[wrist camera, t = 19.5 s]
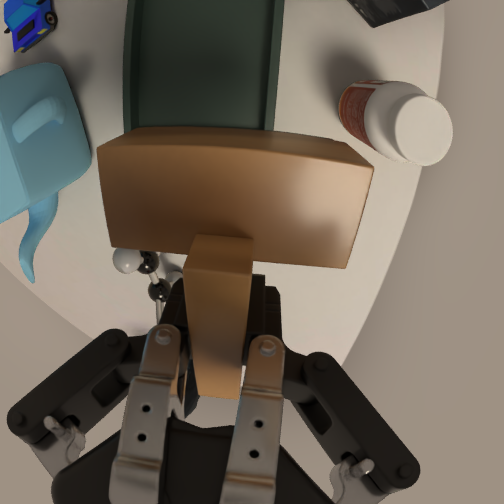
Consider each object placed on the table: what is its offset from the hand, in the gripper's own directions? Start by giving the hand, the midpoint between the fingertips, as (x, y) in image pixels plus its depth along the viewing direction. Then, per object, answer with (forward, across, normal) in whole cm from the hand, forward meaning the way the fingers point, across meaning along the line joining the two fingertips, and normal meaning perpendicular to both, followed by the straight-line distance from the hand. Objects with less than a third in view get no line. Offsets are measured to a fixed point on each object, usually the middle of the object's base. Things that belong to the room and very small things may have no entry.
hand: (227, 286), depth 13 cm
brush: (+3, 0, -2) cm, 3 cm away
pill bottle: (+17, -11, -8) cm, 22 cm away
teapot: (+17, +23, -4) cm, 28 cm away
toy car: (+17, +26, -23) cm, 38 cm away
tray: (+17, +5, -15) cm, 23 cm away
